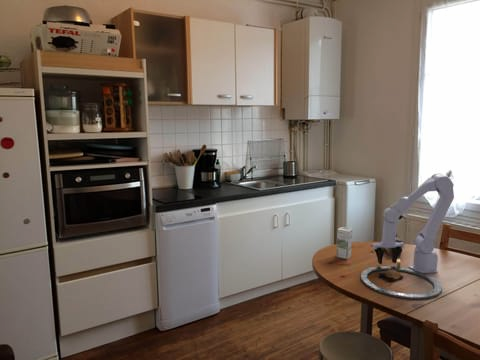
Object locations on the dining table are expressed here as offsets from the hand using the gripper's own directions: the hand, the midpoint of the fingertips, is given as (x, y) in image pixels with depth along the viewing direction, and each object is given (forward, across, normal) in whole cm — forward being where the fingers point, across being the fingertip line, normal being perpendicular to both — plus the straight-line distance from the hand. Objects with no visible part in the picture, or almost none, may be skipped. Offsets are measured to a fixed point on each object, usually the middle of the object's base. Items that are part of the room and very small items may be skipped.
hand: (386, 262), depth 181 cm
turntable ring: (+2, +3, +15) cm, 15 cm away
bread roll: (+3, +4, +11) cm, 12 cm away
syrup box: (+2, +14, -16) cm, 21 cm away
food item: (+2, -15, -19) cm, 25 cm away
